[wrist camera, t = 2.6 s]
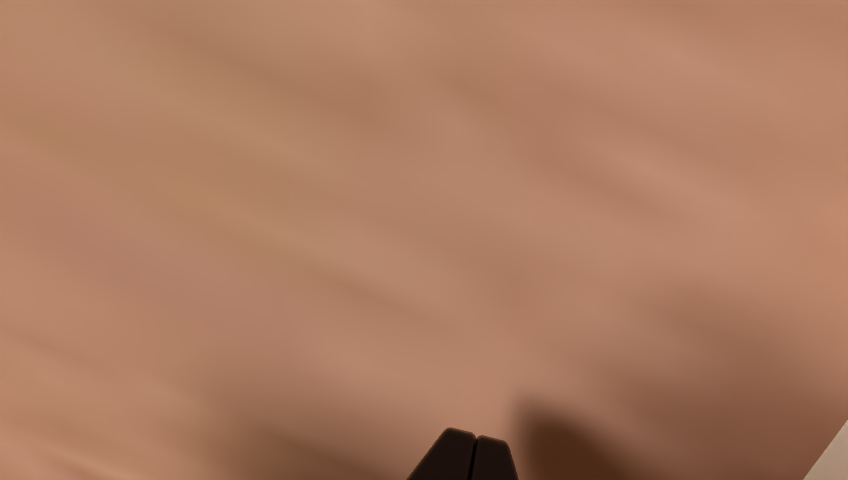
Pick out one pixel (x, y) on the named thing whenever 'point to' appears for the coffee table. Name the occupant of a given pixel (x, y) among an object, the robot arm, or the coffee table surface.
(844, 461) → the carton
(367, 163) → the coffee table surface
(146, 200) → the coffee table surface
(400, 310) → the coffee table surface
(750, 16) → the coffee table surface
